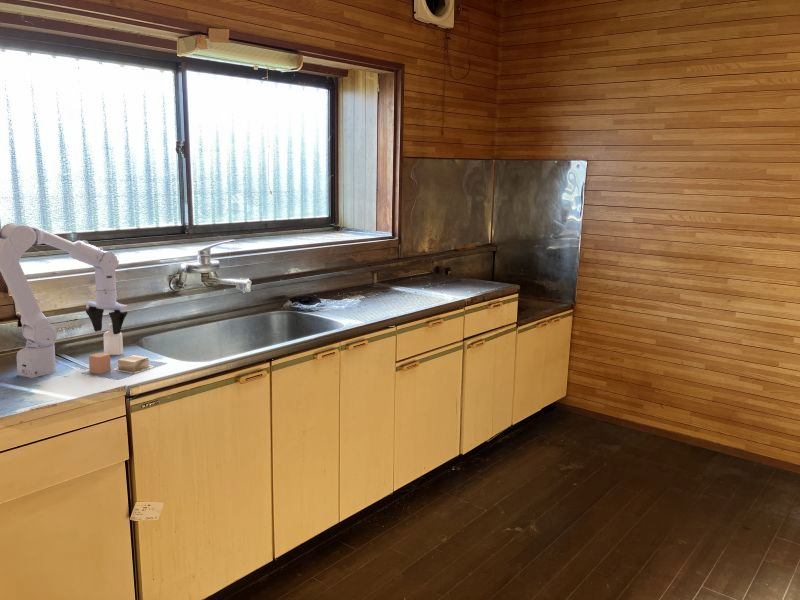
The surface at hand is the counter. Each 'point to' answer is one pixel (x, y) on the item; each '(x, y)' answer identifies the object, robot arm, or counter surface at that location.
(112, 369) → the board
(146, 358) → the base block
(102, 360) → the top block
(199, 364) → the counter surface
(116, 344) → the eye dropper bottle
